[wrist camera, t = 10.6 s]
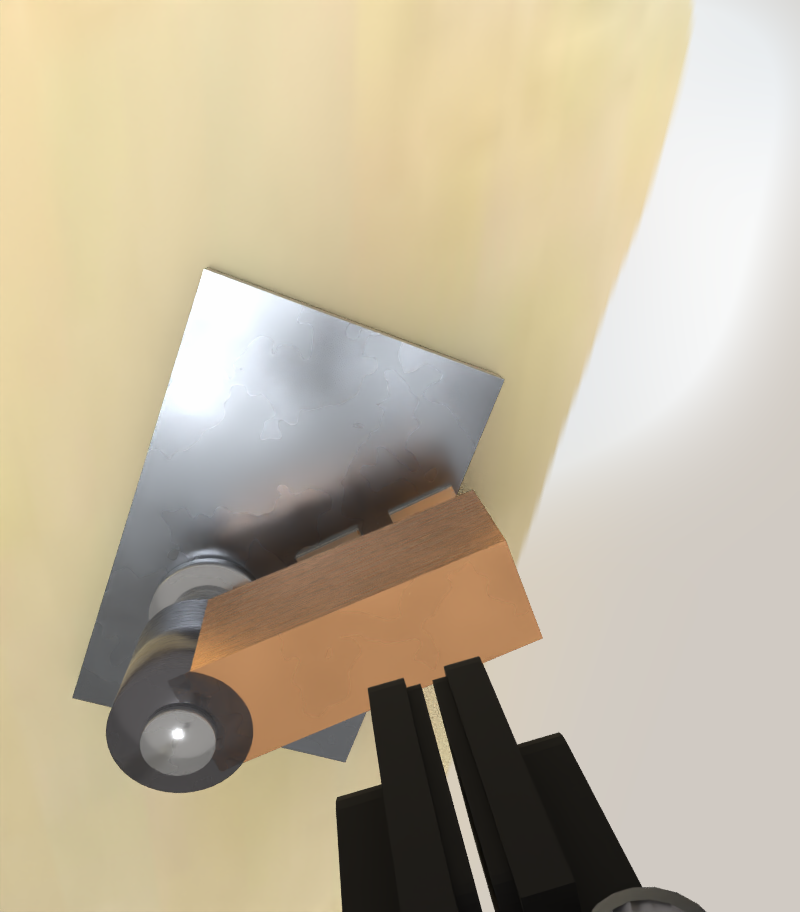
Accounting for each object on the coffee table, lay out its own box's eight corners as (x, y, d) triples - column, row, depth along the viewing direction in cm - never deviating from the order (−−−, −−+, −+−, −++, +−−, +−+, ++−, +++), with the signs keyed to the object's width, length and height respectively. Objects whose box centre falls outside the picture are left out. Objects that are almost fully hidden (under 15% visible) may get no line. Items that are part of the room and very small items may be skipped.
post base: (351, 747, 38) (357, 814, 34) (79, 682, 35) (49, 745, 31) (505, 377, 33) (535, 399, 29) (207, 267, 31) (191, 274, 26)
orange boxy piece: (171, 722, 31) (144, 825, 26) (115, 627, 29) (73, 716, 24) (508, 582, 31) (551, 657, 26) (469, 480, 29) (506, 537, 24)
